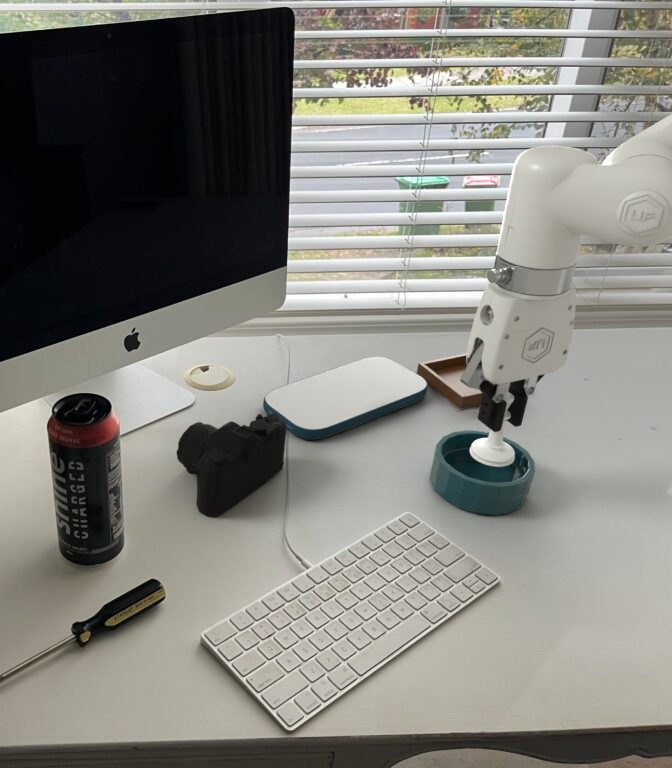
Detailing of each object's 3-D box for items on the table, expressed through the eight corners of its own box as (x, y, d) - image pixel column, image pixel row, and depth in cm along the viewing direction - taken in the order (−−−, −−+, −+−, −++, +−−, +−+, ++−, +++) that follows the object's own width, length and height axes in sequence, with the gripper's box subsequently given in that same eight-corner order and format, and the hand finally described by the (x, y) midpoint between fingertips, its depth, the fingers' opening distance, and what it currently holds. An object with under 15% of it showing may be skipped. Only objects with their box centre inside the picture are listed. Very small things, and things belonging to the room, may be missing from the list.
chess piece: (466, 461, 92) (482, 387, 87) (472, 438, 96) (487, 366, 91) (512, 471, 90) (530, 396, 85) (516, 448, 94) (534, 374, 89)
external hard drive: (378, 363, 122) (379, 351, 121) (436, 397, 113) (438, 385, 112) (253, 407, 111) (254, 395, 110) (306, 448, 103) (308, 436, 102)
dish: (484, 451, 102) (491, 422, 100) (547, 504, 93) (556, 474, 91) (410, 470, 99) (416, 440, 97) (468, 526, 90) (476, 495, 88)
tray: (473, 362, 122) (475, 351, 121) (519, 395, 113) (522, 384, 112) (416, 374, 119) (418, 362, 118) (459, 409, 110) (462, 397, 109)
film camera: (234, 437, 105) (236, 379, 101) (293, 468, 99) (298, 408, 95) (152, 489, 96) (151, 427, 92) (212, 526, 90) (213, 463, 86)
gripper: (492, 300, 76) (461, 456, 86) (623, 273, 81) (579, 425, 90) (443, 272, 82) (419, 420, 92) (567, 249, 87) (532, 393, 96)
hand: (499, 421), depth 91 cm, fingers closed on chess piece
